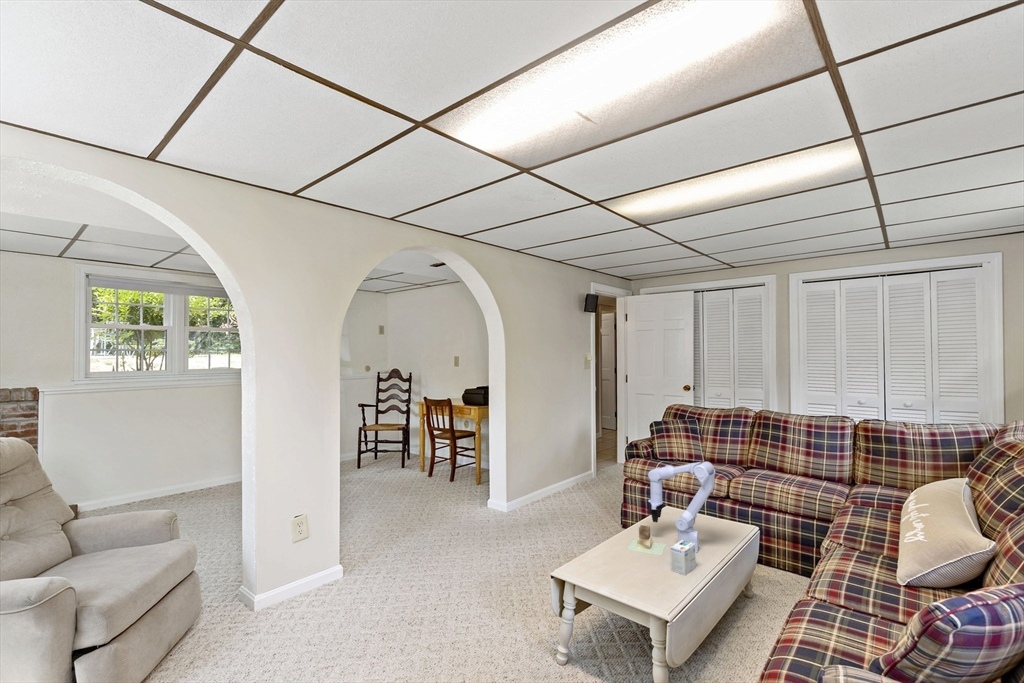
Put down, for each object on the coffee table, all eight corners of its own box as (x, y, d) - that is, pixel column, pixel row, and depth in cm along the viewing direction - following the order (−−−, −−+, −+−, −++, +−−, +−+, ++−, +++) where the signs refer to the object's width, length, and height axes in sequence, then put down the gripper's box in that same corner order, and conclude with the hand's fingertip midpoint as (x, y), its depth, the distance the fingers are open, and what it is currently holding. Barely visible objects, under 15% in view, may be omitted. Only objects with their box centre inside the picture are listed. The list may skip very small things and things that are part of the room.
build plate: (666, 546, 234) (666, 544, 234) (661, 557, 221) (661, 555, 221) (633, 541, 241) (633, 539, 241) (626, 551, 229) (626, 549, 229)
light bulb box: (681, 563, 215) (681, 539, 216) (696, 567, 210) (695, 543, 211) (670, 571, 208) (669, 546, 208) (685, 576, 203) (684, 550, 203)
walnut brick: (650, 536, 234) (650, 526, 234) (648, 540, 230) (648, 529, 230) (641, 535, 236) (640, 525, 236) (639, 538, 232) (638, 528, 232)
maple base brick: (652, 544, 234) (652, 536, 234) (650, 549, 228) (649, 540, 229) (640, 542, 237) (639, 534, 237) (637, 547, 231) (637, 538, 231)
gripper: (651, 487, 250) (651, 513, 250) (645, 495, 237) (645, 523, 237) (664, 489, 247) (665, 515, 247) (659, 497, 234) (660, 525, 234)
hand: (656, 519), depth 242 cm, fingers open, 7 cm apart
